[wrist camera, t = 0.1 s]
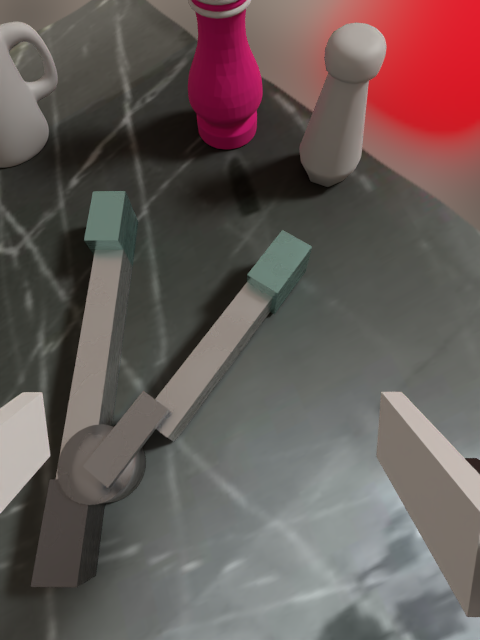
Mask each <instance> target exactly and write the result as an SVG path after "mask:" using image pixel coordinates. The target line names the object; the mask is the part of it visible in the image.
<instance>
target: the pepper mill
mask: <svg viewBox="0 0 480 640" xmlns="http://www.w3.org/2000/svg"><path fill="white" fill-rule="evenodd" d="M250 2H251V0H188V3H189V5H190V7H191V8H192V9H193V10H194V11H195V12H196V17H197V22H198V44H197V48H196V52H195V55H194V59H193V62H192V65H191V69H190V72H189V80H188V95H189V101H190V104H191V106H192V108H193V109H194V111H195V112H196V113H197V124H198V131H199V134H200V136H201V138H202V139H203V140H204V141H205V142H206V143H207V144H208V145H210V146H212V147H215V148H217V149H235V148H239V147H241V146H243V145H245V144H247V143H248V142H249V141H250V140H251V139H252V138H253V137H254V135H255V133H256V129H257V111H256V110H257V109H258V107H259V105H260V103H261V100H262V79H261V75H260V71H259V67H258V65H257V63H256V61H255V58H254V56H253V54H252V52H251V50H250V47H249V44H248V41H247V37H246V31H245V13H246V8H247V7H248V6H249V4H250Z"/></svg>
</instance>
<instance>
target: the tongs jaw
mask: <svg viewBox="0 0 480 640" xmlns="http://www.w3.org/2000/svg"><path fill="white" fill-rule="evenodd" d="M311 249H312V246H310V245H308V244H306V243H305V242H303V241H301V240H299V239H297V238H296V237H294V236H292V235H290V234H289V233H287V232H285V231H283V230H282V231H281V233H280V234H279V235H278V236H277V238H276V239H275V240H274V241H273V243H272V244H271V245H270V246H269V248H268V249H267V250H266V251H265V253H264V254H263V255H262V257H261V258H260V259H259V260H258V262H257V263H256V264H255V265H254V267H253V268H252V269H251V270H250V272H249V273H248V274H247V283H246V284H245V285H244V287H243V288H242V289H241V291H240V292H239V293H238V294H237V296H236V297H235V298H234V299H233V301H232V302H231V303H230V305H229V306H228V307H227V308H226V310H225V311H224V312H223V313H222V315H221V316H220V317H219V319H218V320H217V321H216V322H215V324H214V325H213V326H212V327H211V329H210V330H209V331H208V333H207V334H206V335H205V336H204V338H203V339H202V340H201V341H200V343H199V344H198V345H197V347H196V348H195V349H194V350H193V352H192V353H191V354H190V355H189V357H188V358H187V359H186V361H185V362H184V363H183V364H182V366H181V367H180V368H179V370H178V371H177V372H176V373H175V375H174V376H173V377H172V378H171V380H170V381H169V382H168V384H167V385H166V386H165V387H164V389H163V390H162V391H161V392H160V394H159V395H158V396H157V398H156V399H154V398H152V397H151V396H150V395H148V394H147V393H146V392H144V391H143V392H142V393H141V394H140V396H139V397H138V398H137V399H136V401H135V402H134V403H133V404H132V406H131V407H130V408H129V409H128V411H127V412H126V413H125V414H124V416H123V417H122V418H121V419H120V421H119V422H118V423H117V424H116V426H115V427H114V428H113V429H112V431H111V432H110V433H109V434H108V436H107V437H106V438H105V439H104V441H103V442H102V443H101V444H100V446H99V447H98V448H97V449H96V451H95V452H94V453H93V454H92V455H91V457H90V458H89V459H88V460H87V462H86V463H85V464H84V465H83V467H84V468H85V469H86V470H87V471H89V472H90V473H91V474H92V475H93V476H94V477H96V478H97V479H98V480H99V481H100V482H101V483H103V484H104V485H105V486H106V487H107V488H111V487H112V486H113V484H114V483H115V482H116V481H117V479H118V478H119V477H120V475H121V474H122V473H123V471H124V470H125V469H126V467H127V466H128V465H129V464H130V462H131V461H132V460H133V458H134V457H135V456H136V454H137V453H138V452H139V450H140V449H141V448H142V447H143V445H144V444H145V443H146V441H147V440H148V439H149V437H150V436H151V435H152V433H153V432H154V431H155V429H157V430H158V431H159V432H161V433H162V434H163V435H164V436H166V437H167V438H169V439H170V440H172V441H174V442H175V441H176V439H177V438H178V436H179V435H180V434H181V432H182V431H183V430H184V428H185V427H186V426H187V424H188V423H189V422H190V420H191V419H192V417H193V416H194V415H195V413H196V412H197V411H198V409H199V408H200V407H201V405H202V404H203V403H204V401H205V400H206V399H207V397H208V396H209V394H210V393H211V392H212V390H213V389H214V388H215V386H216V385H217V384H218V382H219V381H220V380H221V378H222V377H223V375H224V374H225V373H226V371H227V370H228V369H229V367H230V366H231V365H232V363H233V362H234V361H235V359H236V358H237V356H238V355H239V354H240V352H241V351H242V350H243V348H244V347H245V346H246V344H247V343H248V342H249V340H250V339H251V337H252V336H253V335H254V333H255V332H256V331H257V329H258V328H259V327H260V325H261V324H262V323H263V321H264V320H265V318H266V317H267V316H268V314H269V313H270V312H272V313H273V314H275V313H276V311H277V310H278V309H279V307H280V306H281V305H282V303H283V302H284V300H285V299H286V298H287V296H288V295H289V294H290V292H291V291H292V289H293V288H294V287H295V285H296V284H297V283H298V281H299V280H300V279H301V277H302V276H303V274H304V273H305V271H306V268H307V264H308V260H309V257H310V253H311Z"/></svg>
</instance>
